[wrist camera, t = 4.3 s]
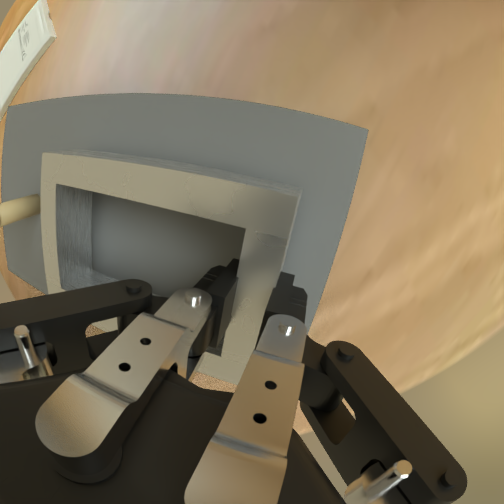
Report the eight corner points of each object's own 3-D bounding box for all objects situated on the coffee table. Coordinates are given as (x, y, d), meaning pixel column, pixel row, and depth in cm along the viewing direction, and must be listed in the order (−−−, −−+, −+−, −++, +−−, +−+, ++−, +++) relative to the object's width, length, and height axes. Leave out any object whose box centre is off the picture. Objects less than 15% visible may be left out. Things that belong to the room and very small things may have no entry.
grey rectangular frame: (302, 188, 12) (298, 197, 9) (259, 351, 15) (246, 387, 12) (79, 149, 14) (42, 152, 11) (78, 282, 17) (49, 300, 14)
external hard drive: (-8, 83, 17) (50, -1, 12) (-1, 130, 18) (61, 38, 14) (-18, 83, 15) (39, -5, 11) (-12, 132, 17) (48, 35, 12)
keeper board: (364, 132, 12) (411, 106, 5) (285, 380, 18) (265, 471, 11) (17, 106, 16) (-46, 110, 9) (16, 265, 22) (-36, 292, 15)
